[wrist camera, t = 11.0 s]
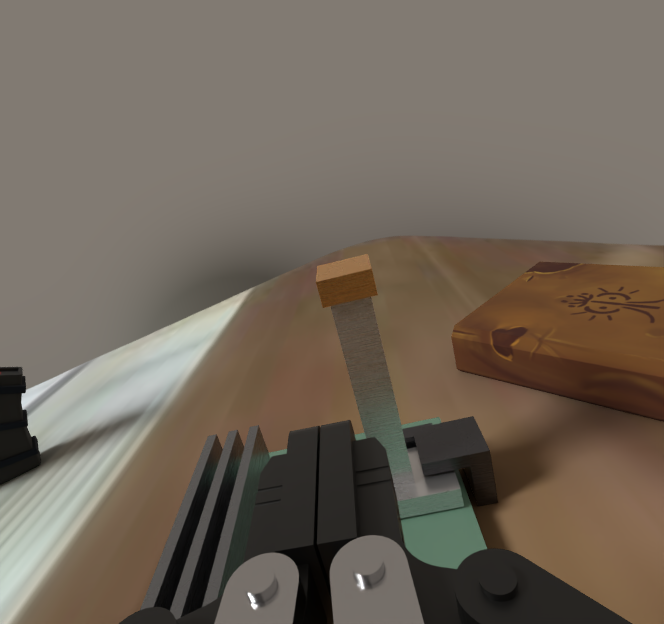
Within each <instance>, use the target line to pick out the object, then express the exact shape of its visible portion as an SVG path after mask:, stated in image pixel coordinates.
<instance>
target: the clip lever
mask: <svg viewBox="0 0 664 624" xmlns="http://www.w3.org/2000/svg"><path fill="white" fill-rule="evenodd" d="M316 284H317V288H318V291H319V295H320V299H321V302H322V306H323V308H325V307H329V306H331V310H332V314H333V317H334V321H335V325H336V328H337V332H338V336H339V339H340V343H341V347H342V351H343V354H344V358H345V362H346V365H347V369H348V373H349V376H350V380H351V384H352V388H353V391H354V395H355V399H356V402H357V406H358V410H359V413H360V417H361V421H362V425H363V428H364V432H365V436H366V438H371V437H375V438H376V439H377V440H378V441H379V442H380V443H381V444H382V445H383V446H384V448H385V449H386V452H387V456H388V461H389V465H390V469H391V474H392V478H393V483H394V487H395V491H396V496H397V501H398V506H399V512H400V518H407V517H412V516H417V515H422V514H427V513H432V512H438V511H443V510H448V509H453V508H458V507H464V503H463V498H462V493H461V488H460V485H459V483H458V480H457V477H456V474H455V471H454V470H452V471H447V472H442V473H437V474H432V475H427V476H424V475H423V471H422V467H421V463H420V459H419V455H418V452H417V448H416V447H414V448H409V449H407V447H406V443H405V439H404V434H403V430H402V426H401V422H400V417H399V413H398V409H397V405H396V401H395V396H394V392H393V388H392V384H391V379H390V375H389V371H388V367H387V362H386V358H385V354H384V350H383V345H382V341H381V337H380V333H379V328H378V324H377V320H376V316H375V311H374V307H373V303H372V299H371V296H376V295H378V294H377V290H376V285H375V281H374V277H373V272H372V268H371V264H370V261H369V257H368V254H365V255H361V256H357V257H353V258H349V259H345V260H341V261H337V262H332V263H328V264H324V265H320V266H317V276H316Z"/></svg>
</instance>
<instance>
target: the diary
mask: <svg viewBox="0 0 664 624" xmlns="http://www.w3.org/2000/svg"><path fill="white" fill-rule="evenodd" d="M451 337H452V343H453V349H454V354H455V360H456V366H457V369H458V370H460V371H463V372H467V373H471V374H475V375H479V376H483V377H487V378H491V379H495V380H499V381H503V382H507V383H511V384H515V385H519V386H523V387H527V388H531V389H535V390H539V391H543V392H547V393H551V394H555V395H559V396H563V397H567V398H571V399H575V400H579V401H583V402H587V403H591V404H595V405H599V406H604V407H608V408H612V409H616V410H620V411H624V412H628V413H632V414H636V415H640V416H644V417H648V418H652V419H656V420H660V421H664V267H644V266H622V265H600V264H578V263H556V262H539V263H537V264H536V265H535V266H533V267H532V268H531V269H529V270H528V271H527V272H525V273H524V274H523V275H521V276H520V277H519V278H517V279H516V280H515V281H513V282H512V283H511V284H509V285H508V286H507V287H505V288H504V289H503V290H501V291H500V292H499V293H497V294H496V295H495V296H493V297H492V298H491V299H489V300H488V301H487V302H485V303H484V304H483V305H481V306H480V307H479V308H477V309H476V310H475V311H473V312H472V313H471V314H469V315H468V316H467V317H465V318H464V319H463V320H461V321H460V322H458V323H457V324H456V325H455V326H454V329H453V333H452V336H451Z"/></svg>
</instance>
